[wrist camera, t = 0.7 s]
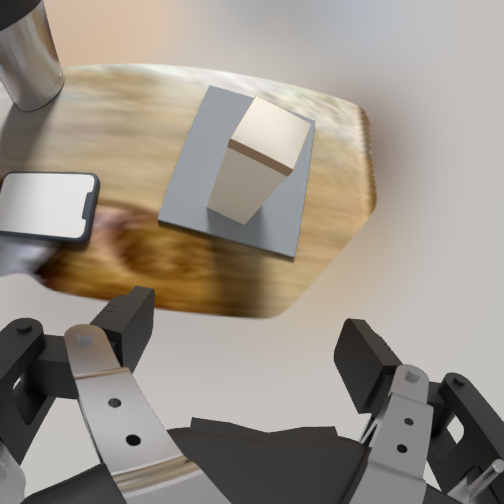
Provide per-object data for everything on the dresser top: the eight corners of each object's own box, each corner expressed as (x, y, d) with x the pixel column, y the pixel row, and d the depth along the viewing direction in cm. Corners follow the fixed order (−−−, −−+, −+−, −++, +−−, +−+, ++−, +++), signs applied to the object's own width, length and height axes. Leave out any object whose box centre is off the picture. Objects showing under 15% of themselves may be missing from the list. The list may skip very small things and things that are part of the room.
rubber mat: (158, 220, 32) (157, 219, 32) (208, 87, 38) (209, 85, 37) (292, 257, 36) (294, 256, 35) (313, 123, 41) (315, 121, 41)
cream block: (244, 225, 34) (293, 170, 20) (205, 207, 34) (229, 138, 19) (259, 190, 36) (311, 123, 21) (223, 173, 35) (255, 95, 21)
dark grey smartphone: (-6, 235, 26) (89, 246, 30) (-12, 232, 25) (85, 243, 28) (10, 175, 28) (103, 177, 32) (5, 170, 27) (100, 171, 30)
